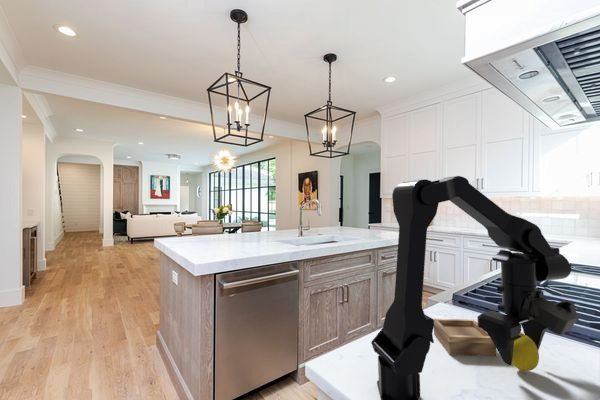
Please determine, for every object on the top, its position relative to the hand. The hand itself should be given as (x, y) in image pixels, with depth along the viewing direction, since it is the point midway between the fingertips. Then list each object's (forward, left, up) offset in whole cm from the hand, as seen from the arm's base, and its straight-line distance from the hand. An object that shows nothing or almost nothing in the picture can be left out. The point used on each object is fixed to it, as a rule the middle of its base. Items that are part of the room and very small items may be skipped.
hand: (521, 358), depth 58 cm
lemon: (0, 0, -3) cm, 3 cm away
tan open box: (-7, +10, -3) cm, 13 cm away
